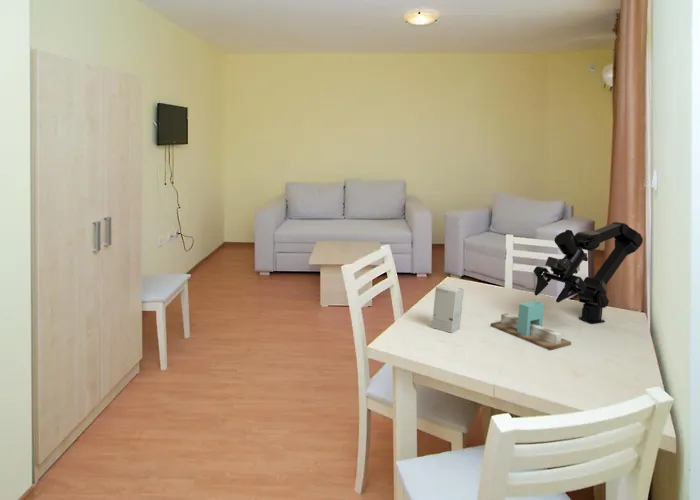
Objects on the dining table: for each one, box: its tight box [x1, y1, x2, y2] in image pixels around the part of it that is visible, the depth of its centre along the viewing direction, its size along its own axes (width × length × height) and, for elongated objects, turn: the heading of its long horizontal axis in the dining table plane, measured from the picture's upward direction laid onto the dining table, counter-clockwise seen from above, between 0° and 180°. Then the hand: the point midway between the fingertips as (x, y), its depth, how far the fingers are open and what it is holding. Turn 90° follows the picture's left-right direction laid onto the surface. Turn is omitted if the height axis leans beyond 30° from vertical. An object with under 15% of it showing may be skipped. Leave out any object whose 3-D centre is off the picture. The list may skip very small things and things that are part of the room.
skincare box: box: [431, 283, 465, 334], centre depth 203 cm, size 8×6×15 cm
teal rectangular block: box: [517, 300, 545, 336], centre depth 198 cm, size 7×4×10 cm, turn 121°
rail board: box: [490, 313, 572, 351], centre depth 199 cm, size 26×10×4 cm, turn 31°
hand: (545, 298), depth 200 cm, fingers open, 9 cm apart
